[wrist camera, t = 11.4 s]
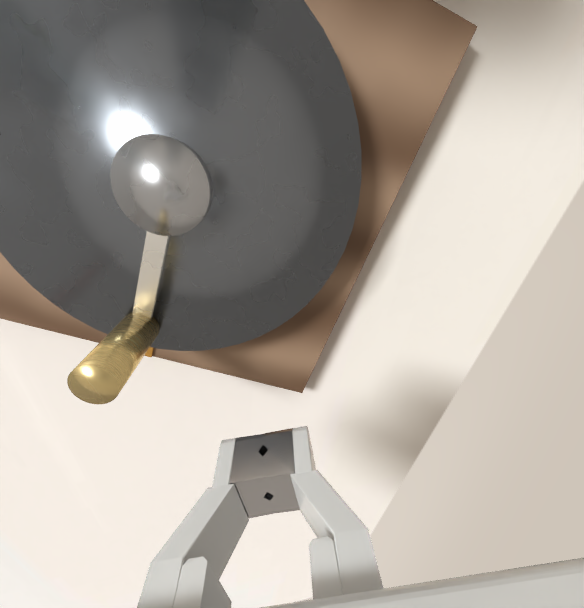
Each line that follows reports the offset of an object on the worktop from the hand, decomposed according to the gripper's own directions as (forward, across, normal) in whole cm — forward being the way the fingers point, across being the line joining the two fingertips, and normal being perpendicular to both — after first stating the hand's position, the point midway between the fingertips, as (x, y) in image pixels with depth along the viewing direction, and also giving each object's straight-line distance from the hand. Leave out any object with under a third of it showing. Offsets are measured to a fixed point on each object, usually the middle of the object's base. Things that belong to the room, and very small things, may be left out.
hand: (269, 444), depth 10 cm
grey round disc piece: (+13, +4, -8) cm, 16 cm away
